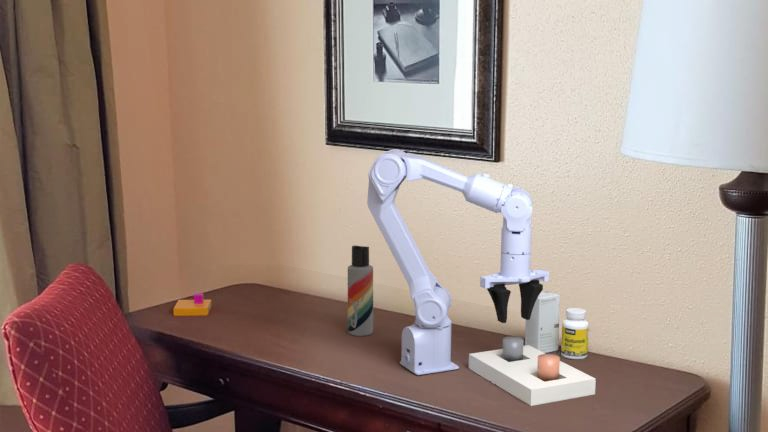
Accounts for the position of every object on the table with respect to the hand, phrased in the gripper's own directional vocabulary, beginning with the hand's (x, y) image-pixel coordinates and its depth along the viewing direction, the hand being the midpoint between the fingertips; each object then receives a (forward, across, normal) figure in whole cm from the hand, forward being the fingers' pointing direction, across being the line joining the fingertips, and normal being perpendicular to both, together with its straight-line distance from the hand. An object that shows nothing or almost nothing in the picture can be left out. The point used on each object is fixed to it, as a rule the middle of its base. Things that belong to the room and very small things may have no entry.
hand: (513, 320), depth 181 cm
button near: (+8, 0, -12) cm, 14 cm away
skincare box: (+11, +13, +9) cm, 19 cm away
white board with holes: (+10, 0, -6) cm, 12 cm away
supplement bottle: (+11, +17, +3) cm, 20 cm away
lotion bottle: (+11, -17, +36) cm, 41 cm away
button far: (+8, 0, 0) cm, 8 cm away
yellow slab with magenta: (+11, -47, +69) cm, 84 cm away
